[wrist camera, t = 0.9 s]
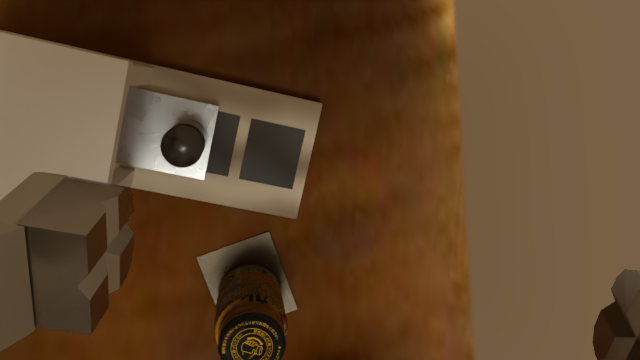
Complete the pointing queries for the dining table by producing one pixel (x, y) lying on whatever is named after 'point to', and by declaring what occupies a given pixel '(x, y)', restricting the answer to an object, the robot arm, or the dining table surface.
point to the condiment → (249, 299)
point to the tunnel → (62, 111)
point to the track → (238, 143)
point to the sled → (166, 133)
